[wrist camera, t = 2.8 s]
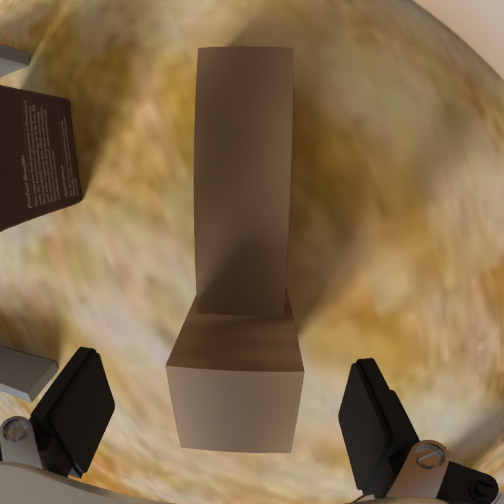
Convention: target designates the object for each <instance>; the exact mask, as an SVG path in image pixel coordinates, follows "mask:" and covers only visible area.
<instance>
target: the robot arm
mask: <svg viewBox="0 0 504 504" xmlns="http://www.w3.org/2000/svg"><path fill="white" fill-rule="evenodd" d="M114 410H115V402H114V399H113V396H112V393H111V390H110V387H109V384H108V381H107V378H106V374H105V371H104V368H103V364H102V361H101V357H100V355H99V353H97V352H96V350H95V349H92V348H86V347H80V348H79V349H78V350H77V351H76V353H75V354H74V355H73V357H72V358H71V359H70V360H69V362H68V363H67V364H66V366H65V367H64V368H63V370H62V371H61V373H60V374H59V375H58V377H57V378H56V379H55V381H54V382H53V383H52V385H51V386H50V388H49V389H48V390H47V392H46V393H45V395H44V396H43V397H42V399H41V400H40V402H39V403H38V405H37V406H36V407H35V409H34V410H33V412H32V413H31V417H30V419H29V420H28V419H26V418H24V417H21V416H14V417H11V418H8V419H7V420H5V421H4V422H3V424H2V425H1V427H0V504H174V503H167V502H161V501H155V500H150V499H145V498H140V497H135V496H130V495H126V494H122V493H118V492H114V491H110V490H106V489H102V488H99V487H95V486H92V485H89V484H85V483H82V482H79V481H76V480H73V479H70V478H67V477H68V475H71V476H74V477H77V478H80V479H81V477H82V474H83V473H86V472H87V471H88V469H89V466H90V464H91V462H92V459H93V457H94V455H95V452H96V450H97V448H98V445H99V443H100V441H101V439H102V436H103V434H104V432H105V430H106V428H107V425H108V423H109V421H110V419H111V417H112V414H113V412H114ZM338 418H339V424H340V427H341V431H342V434H343V438H344V441H345V445H346V449H347V452H348V456H349V460H350V464H351V467H352V471H353V475H354V479H355V483H356V486H357V489H358V490H362V492H363V496H365V497H363V498H361V499H360V500H358V501H356V502H352V503H345V504H504V492H503V493H502V494H501V493H500V492H498V490H499V488H498V484H497V482H496V480H495V479H494V478H493V477H492V476H490V475H488V474H485V473H482V472H479V471H476V470H473V469H471V468H468V467H465V466H462V465H459V464H457V463H454V462H451V461H449V452H448V450H447V449H446V447H445V446H444V445H442V444H441V443H439V442H437V441H433V440H423V441H420V440H419V438H418V436H417V434H416V432H415V430H414V428H413V426H412V424H411V422H410V420H409V418H408V416H407V414H406V412H405V410H404V408H403V406H402V404H401V402H400V400H399V398H398V396H397V394H396V393H395V391H393V390H390V389H389V387H388V385H387V383H386V381H385V379H384V377H383V375H382V373H381V372H380V370H379V368H378V366H377V364H376V362H375V360H374V359H373V358H367V359H358V360H357V361H356V363H353V364H352V366H351V370H350V374H349V377H348V381H347V385H346V389H345V393H344V396H343V400H342V403H341V407H340V410H339V415H338Z"/></svg>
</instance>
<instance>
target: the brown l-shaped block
mask: <svg viewBox="0 0 504 504" xmlns="http://www.w3.org/2000/svg"><path fill="white" fill-rule="evenodd" d="M292 117H293V48H279V47H209V48H198V60H197V78H196V101H195V134H194V234H195V268H196V292H197V295H196V297H195V299H194V301H193V304H192V306H191V308H190V310H189V313H188V315H187V317H186V319H185V322H184V324H183V326H182V329H181V331H180V333H179V336H178V338H177V340H176V343H175V345H174V347H173V350H172V352H171V354H170V357H169V359H168V361H167V364H166V371H167V377H168V383H169V389H170V395H171V401H172V406H173V411H174V416H175V421H176V426H177V431H178V436H179V440H180V445H181V447H183V448H191V449H201V450H212V451H226V452H247V453H291V449H292V444H293V438H294V433H295V427H296V422H297V416H298V410H299V404H300V397H301V391H302V384H303V378H304V367H303V362H302V357H301V353H300V348H299V343H298V338H297V333H296V328H295V324H294V319H293V314H292V310H291V305H290V300H289V296H288V291H287V287H285V286H286V270H287V253H288V234H289V213H290V189H291V160H292Z"/></svg>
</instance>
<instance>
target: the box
mask: <svg viewBox="0 0 504 504" xmlns="http://www.w3.org/2000/svg"><path fill="white" fill-rule="evenodd" d="M82 200H83V198H82V193H81V189H80V182H79V177H78V171H77V164H76V158H75V150H74V143H73V135H72V125H71V115H70V101H69V100H68V99H64V98H60V97H55V96H51V95H47V94H42V93H36V92H32V91H27V90H22V89H16V88H12V87H6V86H2V85H0V232H1V231H3V230H5V229H8V228H10V227H13V226H16V225H18V224H21V223H23V222H25V221H28V220H31V219H34V218H37V217H39V216H42V215H45V214H48V213H51V212H54V211H57V210H60V209H63V208H66V207H69V206H72V205H74V204H77V203H79V202H81V201H82Z"/></svg>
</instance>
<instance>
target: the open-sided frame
mask: <svg viewBox="0 0 504 504" xmlns="http://www.w3.org/2000/svg"><path fill="white" fill-rule="evenodd" d="M29 58H30V54H28V53H25V52H22V51H19V50H16V49H14V48H11V47H8V46H4V45H1V44H0V77H2V76H4V75H6V74H9V73H11V72H13V71H16V70H18V69H21V68H23V67H26V66H28V64H29ZM57 371H58V367H57V365H56V362H55V361H52V360H48V359H44V358H40V357H36V356H33V355H29V354H25V353H22V352H18V351H15V350H12V349H9V348H5V347H2V346H0V390H1V391H3V392H6V393H8V394H11V395H13V396H16V397H18V398H21V399H23V400H26V401H28V402H31V403H32V402H33V401H34V400H35V398H36V397H37V396H38V395H39V393H40V392H41V391H42V390H43V388H44V387H45V386H46V385H47V383H48V382H49V381H50V380H51V379H52V377H53V376H54V375H55V374H56V372H57Z"/></svg>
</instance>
